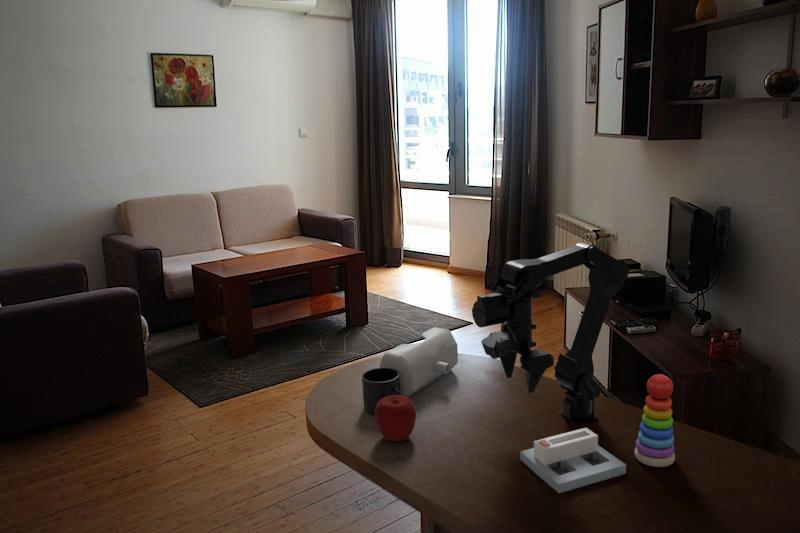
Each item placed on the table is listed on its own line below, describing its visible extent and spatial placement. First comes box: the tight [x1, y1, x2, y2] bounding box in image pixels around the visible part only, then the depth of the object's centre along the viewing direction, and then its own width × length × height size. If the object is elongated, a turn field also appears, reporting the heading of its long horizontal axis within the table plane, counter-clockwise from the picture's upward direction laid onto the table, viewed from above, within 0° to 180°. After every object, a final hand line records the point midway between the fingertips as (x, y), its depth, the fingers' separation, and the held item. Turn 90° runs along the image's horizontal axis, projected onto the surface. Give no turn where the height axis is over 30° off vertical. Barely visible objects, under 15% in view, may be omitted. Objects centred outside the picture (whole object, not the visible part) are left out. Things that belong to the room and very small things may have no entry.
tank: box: [379, 326, 459, 398], centre depth 183 cm, size 25×16×12 cm, turn 143°
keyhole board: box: [519, 444, 627, 494], centre depth 140 cm, size 16×14×2 cm
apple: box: [374, 395, 417, 443], centre depth 155 cm, size 10×10×10 cm
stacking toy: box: [633, 373, 676, 468], centre depth 139 cm, size 8×8×19 cm
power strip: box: [533, 427, 599, 468], centre depth 141 cm, size 13×4×5 cm, turn 111°
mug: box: [361, 367, 401, 416], centre depth 169 cm, size 9×12×9 cm
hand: (519, 385), depth 152 cm, fingers open, 9 cm apart
